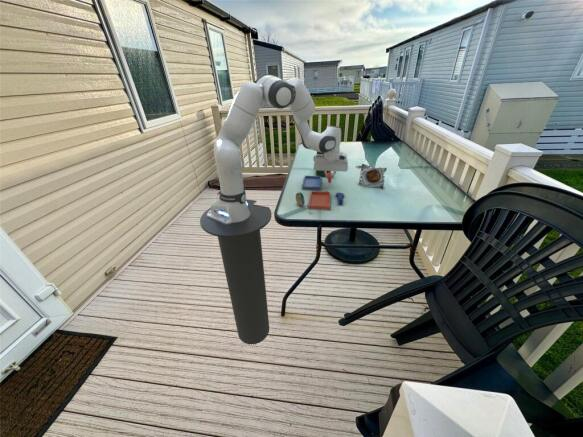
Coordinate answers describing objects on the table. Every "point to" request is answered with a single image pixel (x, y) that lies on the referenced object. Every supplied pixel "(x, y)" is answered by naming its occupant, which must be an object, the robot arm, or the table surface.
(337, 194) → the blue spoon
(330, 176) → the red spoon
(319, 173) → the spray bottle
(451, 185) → the table surface
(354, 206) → the table surface
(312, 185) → the blue tray
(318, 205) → the red tray
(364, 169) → the meal
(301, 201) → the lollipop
